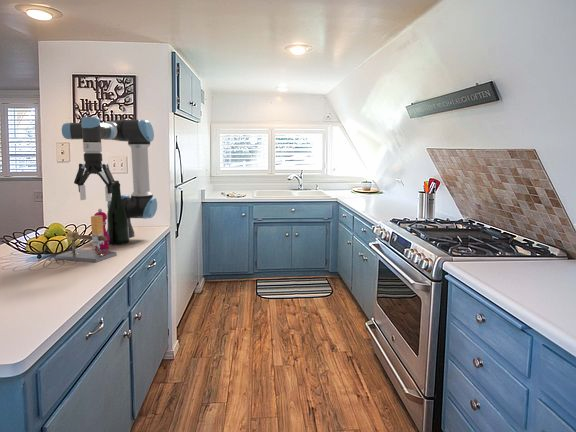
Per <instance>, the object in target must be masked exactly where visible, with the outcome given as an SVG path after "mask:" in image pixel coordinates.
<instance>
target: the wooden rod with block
mask: <svg viewBox="0 0 576 432" xmlns="http://www.w3.org/2000/svg"><path fill="white" fill-rule="evenodd" d="M66 239H67V240H66V241H68V240H69V241H71V249H72V250H71V251H72V252H73V253H75V250H76V242H75V240H90V241H92V235H89V234H79V231H71V232H66ZM99 240H100V241H105V240H107V237H104V236H99Z"/></svg>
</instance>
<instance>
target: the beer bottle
mask: <svg viewBox="0 0 576 432" xmlns="http://www.w3.org/2000/svg"><path fill="white" fill-rule="evenodd" d="M114 181H115V183H116V184H115V185H112V193H111V202H110V205H109V208H108V207H107V213H106V215H107V219H106V225H107V228H108V235H109V239H110V241H109V242H108V244H109V245H113V246H119V245H121V246H122V245H126V244H129V243H130V237H129V227H128V216H127V210H126V208H125V206H124V203H123V201H122V198H121V195H122V194H121V193H122V192H121V183H120V181H119V180H114Z"/></svg>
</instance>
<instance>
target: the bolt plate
mask: <svg viewBox="0 0 576 432" xmlns="http://www.w3.org/2000/svg"><path fill="white" fill-rule="evenodd" d="M99 252H100V253H98V250H97V249H84V248H83V249H82V248H75V253H73V252H72V250H70V251H65V252H63V253H60V254H59V253H58V254H55V259H56V260H65V261H78V262H87V263H88V262H89V263H98V261H99V262H102V261H103V260H106V259H109V258H112V257H113V258H114V257H115V256H117V251H109V250H108V251H107V250H100V251H99Z"/></svg>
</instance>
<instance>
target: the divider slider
mask: <svg viewBox="0 0 576 432" xmlns="http://www.w3.org/2000/svg"><path fill="white" fill-rule="evenodd" d="M90 227H91V236H92V240H91V241H92V247H95V246H97V249H98V250H97V249H96V250H97V251H98V253H100V252H99V251H101V250H100V244H104V241H100V240H99V236H104V233H103V217H102V216H100V215H96V216H94V215H93V216H90Z"/></svg>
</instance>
